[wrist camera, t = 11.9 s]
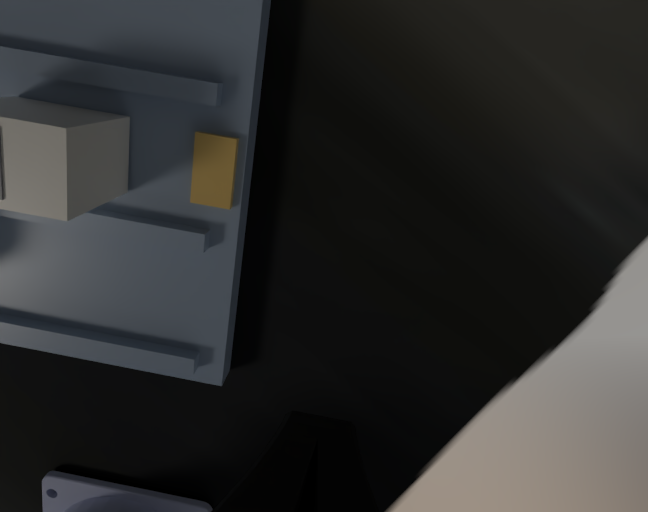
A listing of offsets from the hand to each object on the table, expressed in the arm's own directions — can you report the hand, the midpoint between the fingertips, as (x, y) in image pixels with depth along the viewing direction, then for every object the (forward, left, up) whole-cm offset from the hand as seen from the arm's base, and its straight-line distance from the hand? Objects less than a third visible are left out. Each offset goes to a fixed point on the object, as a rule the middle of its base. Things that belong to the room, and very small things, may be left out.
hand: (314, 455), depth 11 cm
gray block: (+3, +10, -9) cm, 14 cm away
